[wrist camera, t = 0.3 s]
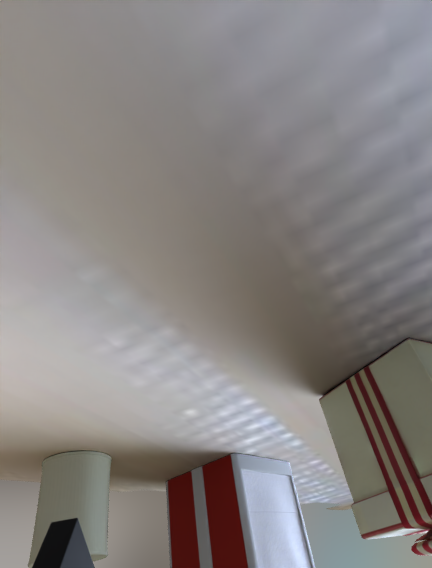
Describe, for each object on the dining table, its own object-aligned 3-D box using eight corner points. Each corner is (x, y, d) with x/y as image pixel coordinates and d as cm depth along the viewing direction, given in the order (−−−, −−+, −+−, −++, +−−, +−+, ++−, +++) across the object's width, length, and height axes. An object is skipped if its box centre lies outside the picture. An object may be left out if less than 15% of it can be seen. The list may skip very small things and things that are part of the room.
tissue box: (162, 482, 69) (172, 697, 52) (233, 452, 60) (273, 697, 43) (224, 487, 79) (248, 668, 62) (291, 462, 70) (342, 663, 53)
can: (107, 447, 50) (102, 556, 43) (115, 466, 57) (112, 563, 50) (34, 455, 49) (15, 570, 41) (51, 474, 56) (38, 575, 48)
